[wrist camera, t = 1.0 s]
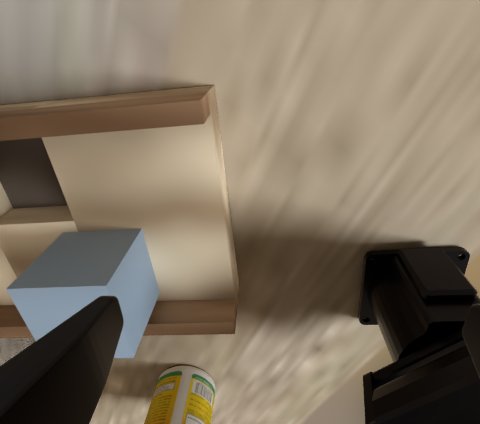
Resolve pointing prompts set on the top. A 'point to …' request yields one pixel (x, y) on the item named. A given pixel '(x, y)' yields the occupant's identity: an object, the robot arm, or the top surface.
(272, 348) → the top surface
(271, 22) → the top surface
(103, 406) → the top surface
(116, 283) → the block
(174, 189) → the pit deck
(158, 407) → the supplement bottle
